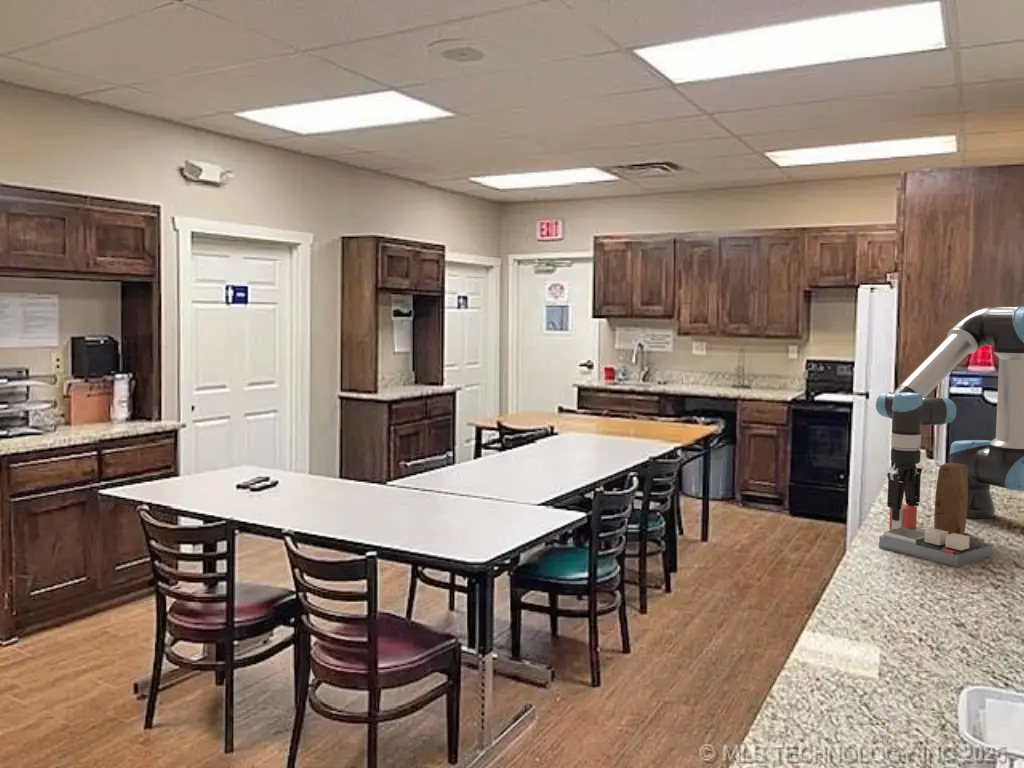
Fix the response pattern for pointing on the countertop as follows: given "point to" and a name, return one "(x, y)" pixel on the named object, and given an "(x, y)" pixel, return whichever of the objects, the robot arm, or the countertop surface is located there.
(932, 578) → the countertop surface
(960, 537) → the toggle
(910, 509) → the coral toy cube
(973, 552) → the panel
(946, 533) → the toggle
